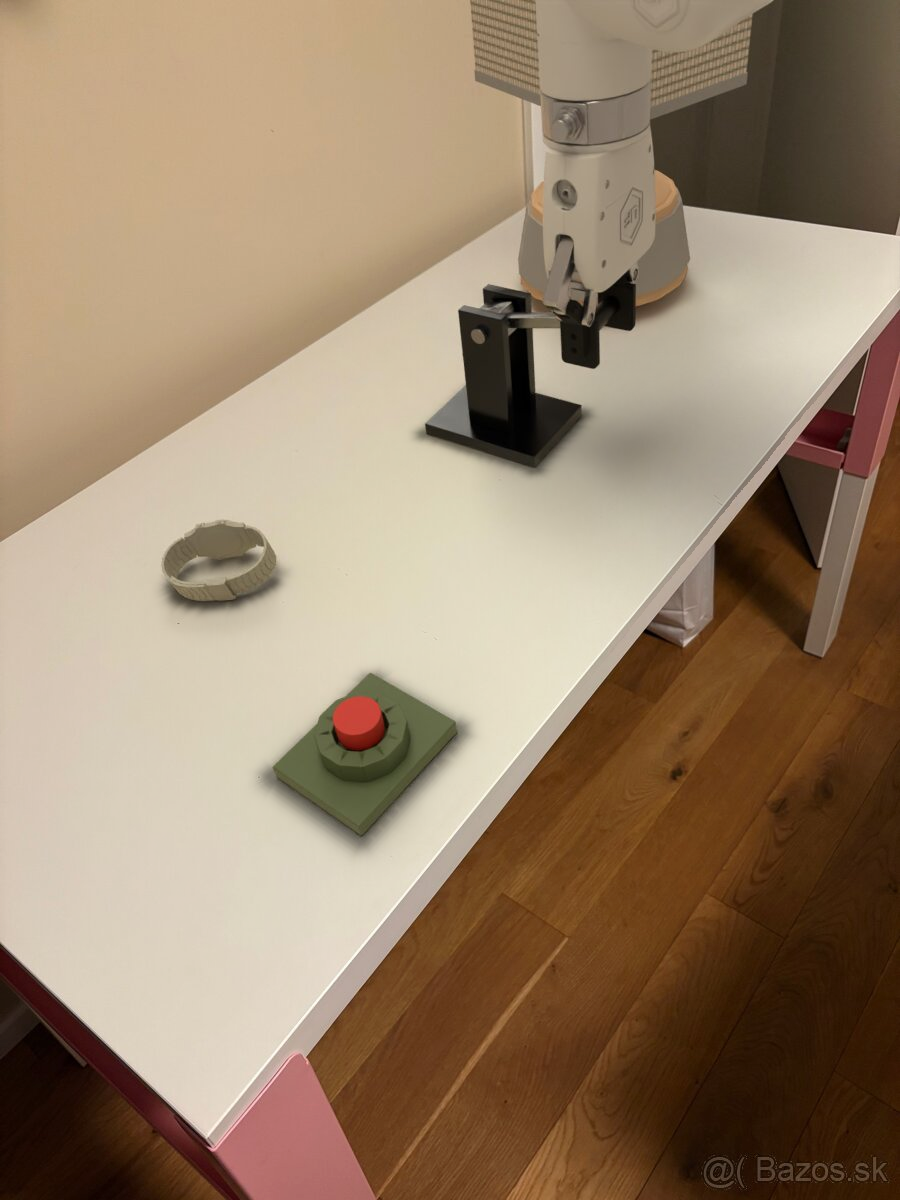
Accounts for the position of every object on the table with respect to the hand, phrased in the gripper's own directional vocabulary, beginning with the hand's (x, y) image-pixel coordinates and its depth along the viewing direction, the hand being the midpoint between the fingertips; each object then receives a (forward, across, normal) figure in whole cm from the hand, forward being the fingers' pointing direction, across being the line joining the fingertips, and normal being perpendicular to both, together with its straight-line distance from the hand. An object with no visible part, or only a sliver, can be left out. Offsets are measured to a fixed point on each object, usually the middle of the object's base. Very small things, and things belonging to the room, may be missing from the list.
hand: (599, 343), depth 78 cm
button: (+9, -37, -1) cm, 38 cm away
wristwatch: (+11, -29, +20) cm, 37 cm away
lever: (0, 0, +5) cm, 5 cm away
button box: (+11, -37, -1) cm, 39 cm away
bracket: (+11, 0, +10) cm, 15 cm away
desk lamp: (+11, +28, +14) cm, 33 cm away
